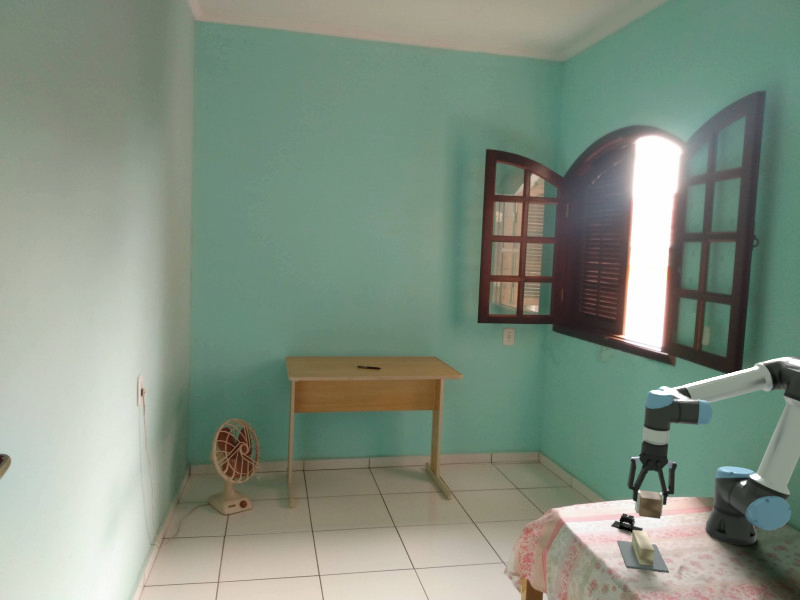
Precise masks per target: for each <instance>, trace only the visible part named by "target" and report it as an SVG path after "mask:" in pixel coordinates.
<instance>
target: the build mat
mask: <svg viewBox="0 0 800 600" xmlns="http://www.w3.org/2000/svg"><path fill="white" fill-rule="evenodd" d="M617 544H618V546H619V549H620V553H621V555H622V557H623V558H622V559H623V561H624V563H625V567H626V568H631V569H639V570H648V571H657V572H664V573H669V572H670V571H669V569H668V567H667V564H666V562H665V559H664V558H663V555H662V554H661V552H660V549H659V547H658V545H657V544H656V543H655V544H654V543H651V544H652V546H653V548H654V561H653V566H652V565H643V564H639V562H638V560H637V557H636V555H635V552H634V550H633V547H632V541H627V540H618V539H617Z"/></svg>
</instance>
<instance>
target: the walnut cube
mask: <svg viewBox="0 0 800 600" xmlns="http://www.w3.org/2000/svg"><path fill="white" fill-rule="evenodd" d="M639 490H640V492H641V496H640V506H639V513H638V516H639V517H643V518H644V517H645V518H650V519H651V518H653V519H659V520H661V517H662V516H661V507H662V499H661V497H660V495H659V491H651V490H641V489H639Z"/></svg>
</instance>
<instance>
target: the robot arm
mask: <svg viewBox="0 0 800 600" xmlns="http://www.w3.org/2000/svg"><path fill="white" fill-rule="evenodd" d="M780 390H781V391H784V393H783V396H782V397H783V399H784V401H785V404H784V405H785V406H784V408H783V410H782V412H781V415H780V417H779V420H778V421H777V423H776V426H775V429H774V431H773V434H772V436H771V438H770V441H769V443H768V445H767V447H766V450H765V452H764V455H763V457H762V459H761V461H760V464H759V467H758V468H757V471H753V470H752V469H749V468H745V467H738V466H730V465H728V466H724V465H723V466H720V467H718V468H717V469H716V472H715V473H716V474H715V476H714V477H715V480H714V481H715V484H714V495H713V506H712V510H711V511H710V513H709V516H708V518H707V520H706V522H705V531H706V533H707V534H708V535H710V537H712V538H714V539H715V540H719V541H720V542H723V543H727V544H731V545H736V546H751V545H754V544H756V542H757V530H756V527H757V528H758V529H760V530H763V531H774V530H777V529H781V528H782V527H784V526H786V524H787V523H788V522H789V520H790V518H791V516H792V509H791V505H790V504H789V502H788V499H789V497H790V495H791V492H790V490H789V488H788V485H789V482H790V479H791V477H792V475H793V472H794V471H795V468H796V466H797V463H798V462H799V459H800V356H794V355H793V356H792V355H791V356H782V357H777V358H773V359H768V360H765V361H761V362H757V363H755V364H754V365H753V367H750V368H746V369H741V370H738V371H734V372H731V373H726V374H723V375H718V376H714V377H711V378H707V379H703V380H699V381H695V382H691V383H687V384H683V385H679V386H675V387H671V386H665V385H664V386H663V385H662V386H660V387H658V388H657V389H652V390H649V391H648V392H647V394H646V399H645V403H644V405H645V406H644V408H645V409H644V419H643V421H644V422H643V429H642V439H641V449H640V454H639V455H638V456H632V455H631V456H630V457H629V461H630V467H629V473H628V478H627V483H626V484H627V487H628V490H631V491H632V496H631V497H632V501H633V502H635V503H634V510H635V513H636V514H639V506H640V496H641V492H640V490H641V487H642V485H643V482H644V481H645V478H646V476H647V474H648V473H649V471H650V472H651V471H654V472H657V476H658V479H659V484H660V488H661V491H660V492H659V491H658V493H659V495H660V497H661V499H662V507H661V516H660V517H662V515H663V508H664V507H663V506H666V505H667V502H668V496H669V495H674V494H675V479H676V478H675V475H676V474H675V473H676V469H677V467H678V464H677V463H676V462H675V460H669V459H668V451H669V444H668V443H669V441H670V431H671V424H681V425H695V426H699V425H702V426H703V425H707V424H709V423H710V422H711V421H712V419H713V407H712V405H711V404H710V403H715V402H718V401H722V400H723V401H724V400H726V399H730V398H734V397H738V396H742V395H745V394H749V393H754V392H758V391H764V392H772V391H780ZM639 462H640V463H641V464H642V465H641V468H640V471H639V473H638V475H637V478H636V477H635V476H636V472H637V465H638V464H639ZM666 465H667V467H668V482H667V483H668V485H666V480H665V475H664V471H663V469H664V468H665V466H666ZM635 478H636V480H635ZM667 487H668V488H667ZM755 526H756V527H755Z"/></svg>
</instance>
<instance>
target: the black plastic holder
mask: <svg viewBox="0 0 800 600" xmlns="http://www.w3.org/2000/svg"><path fill="white" fill-rule="evenodd" d="M618 520H619V521H618ZM618 520H614V522H613V523H612V524H611V525H610V527H611V528H615V529H619V530H621V531H622V530H623V531H624V532H629V533H631V534H632V531H633V530H638V531H644V529H643V527H639V526H635V523H636V520H635V516H634V515H631V514H629V515H628V514H627V513H622V515H620V518H619V519H618Z"/></svg>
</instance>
